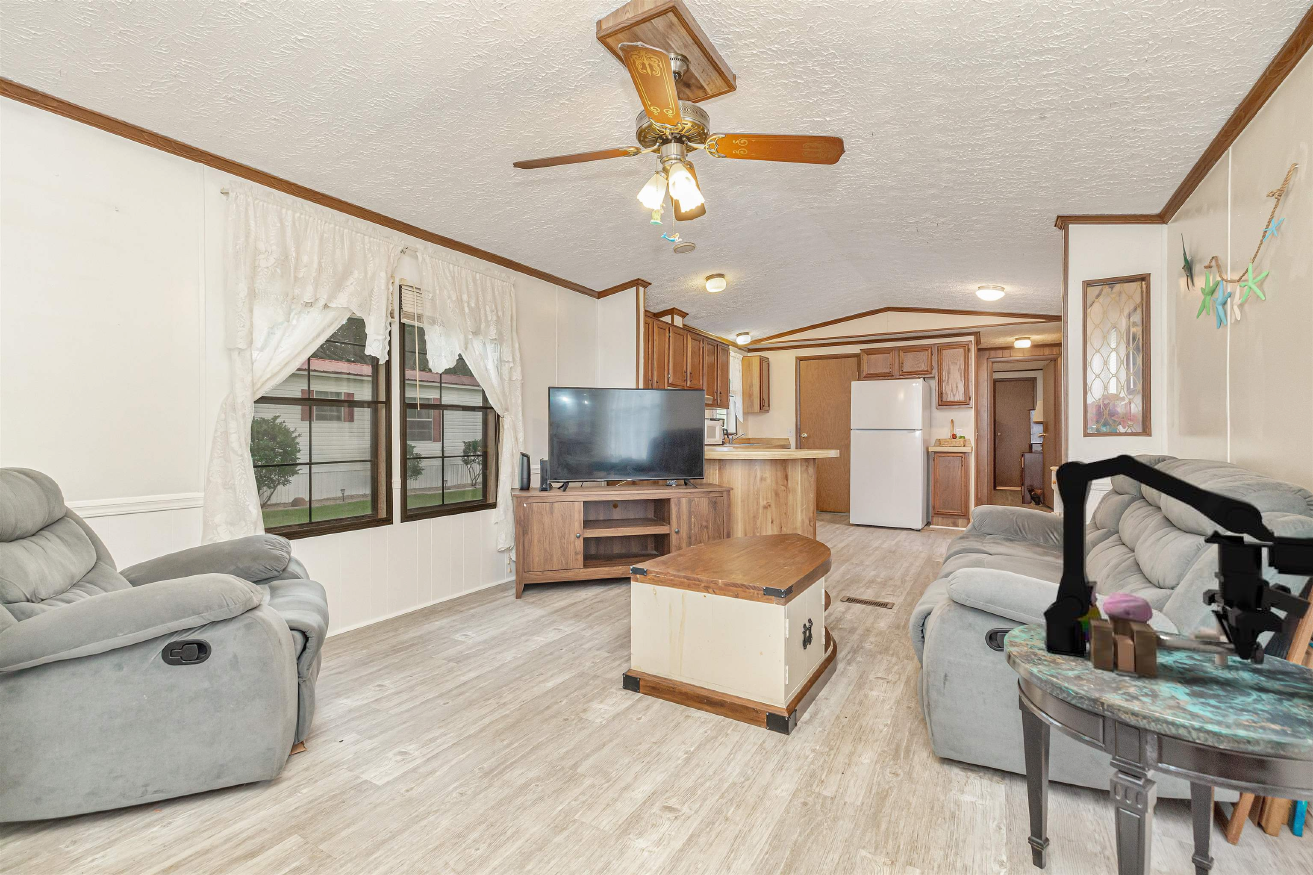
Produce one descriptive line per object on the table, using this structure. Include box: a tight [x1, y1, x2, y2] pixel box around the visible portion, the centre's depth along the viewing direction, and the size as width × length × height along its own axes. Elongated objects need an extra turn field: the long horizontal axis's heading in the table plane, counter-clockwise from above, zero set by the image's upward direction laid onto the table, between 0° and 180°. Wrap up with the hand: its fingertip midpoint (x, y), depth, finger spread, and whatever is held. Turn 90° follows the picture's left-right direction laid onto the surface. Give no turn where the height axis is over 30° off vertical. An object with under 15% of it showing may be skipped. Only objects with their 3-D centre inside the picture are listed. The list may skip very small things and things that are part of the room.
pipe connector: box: [1188, 618, 1229, 667], centre depth 116 cm, size 10×10×10 cm
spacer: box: [1113, 634, 1134, 672], centre depth 115 cm, size 2×5×5 cm, turn 151°
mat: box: [1112, 660, 1139, 679], centre depth 115 cm, size 3×10×1 cm, turn 151°
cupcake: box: [1102, 592, 1154, 638], centre depth 131 cm, size 9×9×10 cm
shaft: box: [1156, 633, 1265, 666], centre depth 110 cm, size 17×4×4 cm, turn 61°
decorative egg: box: [1078, 603, 1103, 642], centre depth 133 cm, size 8×8×10 cm
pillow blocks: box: [1088, 617, 1158, 678], centre depth 115 cm, size 10×6×8 cm, turn 61°
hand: (1241, 657), depth 107 cm, fingers closed on shaft, 2 cm apart
